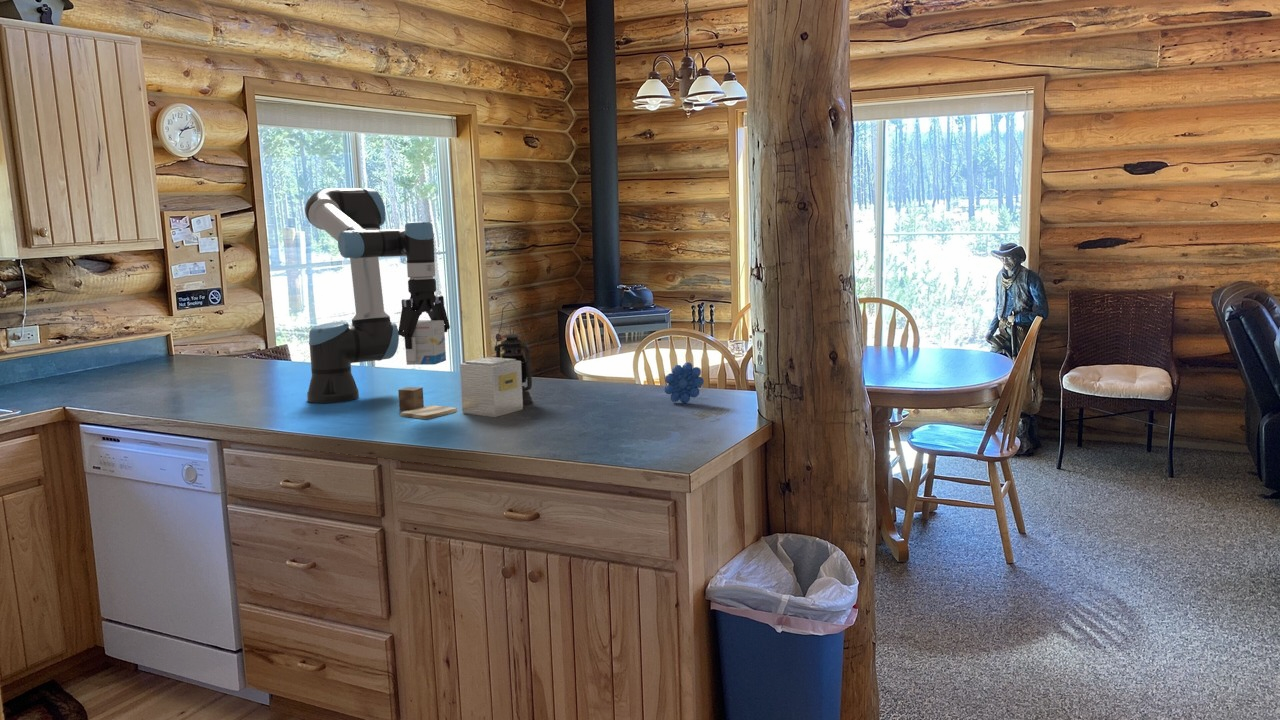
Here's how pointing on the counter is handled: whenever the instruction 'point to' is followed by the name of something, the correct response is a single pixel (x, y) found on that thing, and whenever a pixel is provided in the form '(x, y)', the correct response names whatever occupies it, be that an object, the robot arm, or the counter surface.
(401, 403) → the walnut block
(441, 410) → the board
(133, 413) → the counter surface
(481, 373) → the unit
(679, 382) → the blue flower
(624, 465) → the counter surface
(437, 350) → the ink box
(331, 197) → the robot arm
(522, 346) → the lantern
